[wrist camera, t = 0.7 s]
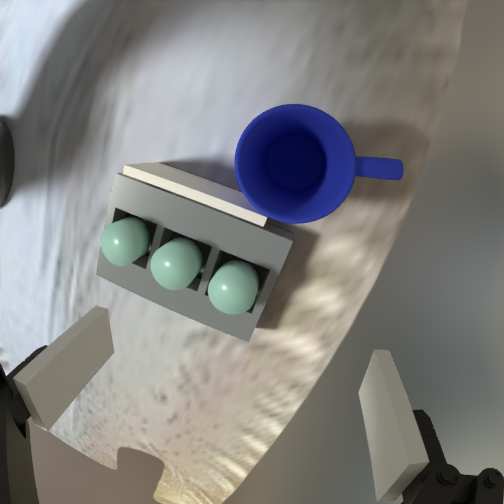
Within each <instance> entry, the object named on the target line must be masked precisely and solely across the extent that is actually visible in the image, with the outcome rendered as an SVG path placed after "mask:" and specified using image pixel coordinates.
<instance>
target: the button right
mask: <svg viewBox="0 0 504 504" xmlns="http://www.w3.org/2000/svg"><path fill="white" fill-rule="evenodd" d="M258 287H259V277H258V274H257V272H256V270H255V269H254V268H253V267H252V266H251V265H250V264H248V263H246V262H244V261H240V260H231V261H228V262H226V263H224V264H223V265H221V266H220V268H219V269H218V271H217V272H216V274H215V275H214V277H213V278H212V280H211V281H210V283H209V286H208V295H209V299H210V301H211V302H212V304H213V305H214V306H215V307H216V308H217V309H218V310H220V311H221V312H223V313H226V314H231V315H237V314H241V313H244V312H246V311H247V310H249V309H250V308H251V306H252V305H253V303H254V301H255V297H256V294H257V290H258Z"/></svg>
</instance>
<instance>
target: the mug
mask: <svg viewBox="0 0 504 504" xmlns="http://www.w3.org/2000/svg"><path fill="white" fill-rule="evenodd" d="M235 172H236V177H237V181H238V184H239V186H240V188H241V190H242V192H243V194H244V195H245V197H246V198H247V200H248V201H249V202H250V203H251V204H252V205H253V206H254V207H255V208H256V209H257V210H258V211H260V212H261V213H263V214H264V215H266V216H268V217H270V218H272V219H275V220H277V221H281V222H285V223H294V224H298V223H308V222H312V221H316V220H318V219H321V218H323V217H325V216H327V215H328V214H330V213H332V212H333V211H334V210H335V209H337V208H338V207H339V206H340V205H341V203H342V202H343V201H344V200H345V198H346V197H347V196H348V194H349V192H350V190H351V188H352V185H353V182H354V178H355V176H362V177H369V178H379V179H389V180H400V179H401V178H402V176H403V164H402V162H401V161H400V160H396V159H387V158H375V157H357V156H355V152H354V148H353V145H352V142H351V140H350V138H349V136H348V134H347V133H346V131H345V130H344V128H343V127H342V126H341V125H340V124H339V123H338V122H337V121H336V120H335V119H334V118H333V117H331V116H330V115H329V114H327V113H325V112H324V111H322V110H319V109H317V108H315V107H311V106H307V105H302V104H287V105H281V106H277V107H274V108H271V109H269V110H267V111H265V112H263V113H262V114H260V115H259V116H257V117H256V118H255V119H254V120H253V121H252V122H251V123H250V124H249V125H248V126H247V127H246V129H245V130H244V132H243V133H242V135H241V137H240V139H239V142H238V144H237V148H236V153H235Z"/></svg>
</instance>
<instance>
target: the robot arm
mask: <svg viewBox="0 0 504 504" xmlns="http://www.w3.org/2000/svg"><path fill="white" fill-rule="evenodd" d="M13 168H14V152H13V144H12V139H11V135H10V132H9V130H8V128H7V126H6V124H5V123H4V122H3V121H2V120H0V206H1V205H2V204H3V203H4V201H5V199H6V197H7V195H8V193H9V190H10V186H11V182H12V177H13ZM113 353H114V347H113V341H112V335H111V329H110V322H109V315H108V309H107V308H102V307H99V306H95V307H94V308H93V309H92V310H90V311H89V312H88V313H87V314H85V315H84V316H83V317H82V318H81V319H79V320H78V321H77V322H76V323H75V324H74V325H72V326H71V327H70V328H69V329H68V330H66V331H65V332H64V333H63V334H62V335H61V336H59V337H58V338H57V339H56V340H55V341H54V342H53V343H51V344H50V345H49V346H47V345H45V346H43V347H41V348H39V349H37V350H35V351H34V352H33V353H32V354H31V355H30V357H29V356H28V357H27V358H26V359H25V361H23V362H22V363H21V364H19V365H18V366H17V367H16V368H15V369H14V370H13V371H12V372H10V373H9V374H8V375H7V376H6V375H5V373H4V370H3V368H2V365H1V364H0V504H39V500H38V496H37V489H36V484H35V478H34V470H33V463H32V454H31V444H30V431H29V423H28V421H27V419H28V418H29V417H30V416H31V417H32V419H33V421H34V423H35V425H37V426H38V427H40V428H42V429H44V430H45V431H47V432H48V431H49V430H50V428H51V427H52V426H53V425H54V423H55V422H56V421H57V420H58V418H59V417H60V416H61V415H62V414H63V412H64V411H65V410H66V409H67V407H68V406H69V405H70V404H71V403H72V401H73V400H74V399H75V398H76V397H77V395H78V394H79V393H80V392H81V391H82V389H83V388H84V387H85V386H86V385H87V383H88V382H89V381H90V380H91V379H92V378H93V376H94V375H95V374H96V373H97V372H98V370H99V369H100V368H101V367H102V366H103V365H104V363H105V362H106V361H107V360H108V359H109V358H110V357H111V355H112V354H113ZM359 397H360V402H361V407H362V412H363V417H364V423H365V428H366V434H367V439H368V445H369V451H370V457H371V463H372V470H373V476H374V483H375V491H376V498H377V502H384V501H393V500H396V499H397V498H398V497H399V496H400V495H401V494H402V496H403V502H402V503H401V504H503V496H504V477H503V476H502V474H501V473H500V472H499V471H498V470H497V469H494V468H486V469H484V470H483V471H482V472H481V473H480V474H479V475H478V476H474V475H464V474H460V472H459V471H458V470H457V469H456V468H455V467H454V466H452V465H450V464H447V462H446V460H445V457H444V454H443V451H442V448H441V445H440V443H439V440H438V437H437V436H436V432H435V429H433V424H432V422H431V419H430V417H429V416H428V415H427V414H426V413H425V412H424V411H423V410H412V408H411V406H410V403H409V400H408V398H407V395H406V392H405V389H404V387H403V384H402V382H401V379H400V377H399V374H398V371H397V369H396V367H395V364H394V361H393V359H392V357H391V354H390V352H389V350H374V352H373V355H372V358H371V360H370V363H369V366H368V369H367V372H366V374H365V377H364V380H363V382H362V385H361V388H360V390H359Z"/></svg>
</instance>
